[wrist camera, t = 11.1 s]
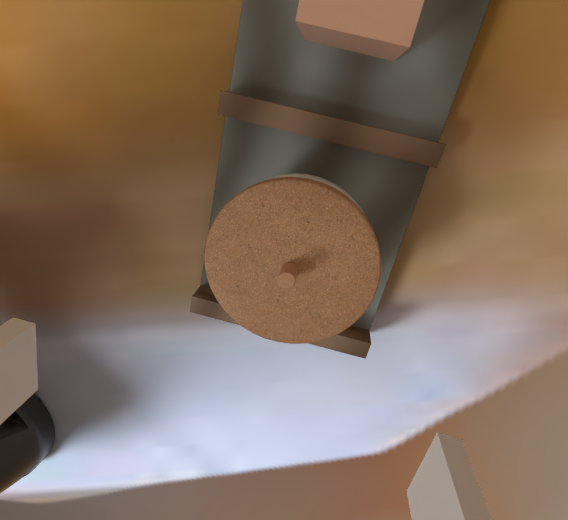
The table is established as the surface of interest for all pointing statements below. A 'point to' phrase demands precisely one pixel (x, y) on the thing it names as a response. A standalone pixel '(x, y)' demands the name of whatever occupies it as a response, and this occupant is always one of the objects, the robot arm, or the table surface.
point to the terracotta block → (360, 25)
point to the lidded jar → (293, 259)
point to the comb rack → (340, 123)
